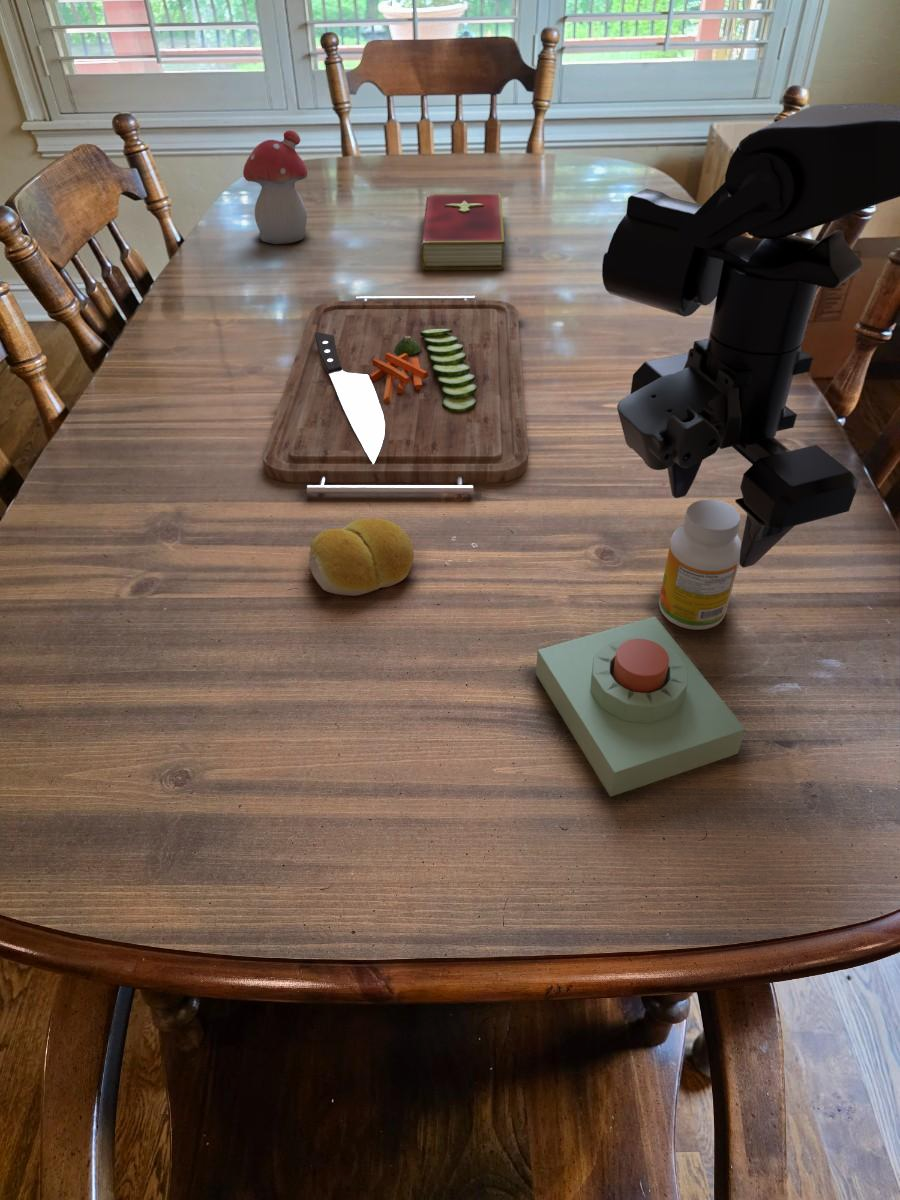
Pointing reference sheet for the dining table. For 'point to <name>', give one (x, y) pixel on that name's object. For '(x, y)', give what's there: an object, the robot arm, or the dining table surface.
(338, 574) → the bread roll
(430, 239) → the hardcover book
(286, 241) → the decorative ornament
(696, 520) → the supplement bottle
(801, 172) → the robot arm
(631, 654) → the button
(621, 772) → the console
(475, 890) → the dining table surface
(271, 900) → the dining table surface
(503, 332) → the chopping board
